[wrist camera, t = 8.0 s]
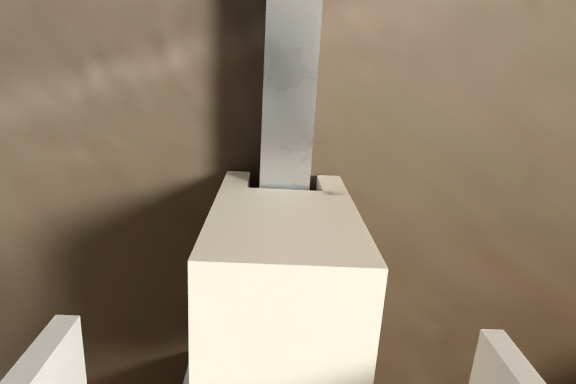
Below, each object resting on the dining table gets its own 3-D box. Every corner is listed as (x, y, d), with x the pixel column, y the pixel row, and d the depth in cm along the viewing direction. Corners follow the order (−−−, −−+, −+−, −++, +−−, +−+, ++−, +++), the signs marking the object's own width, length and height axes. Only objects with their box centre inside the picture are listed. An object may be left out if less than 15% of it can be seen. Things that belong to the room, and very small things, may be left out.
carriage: (227, 170, 24) (187, 260, 13) (339, 176, 24) (388, 268, 13) (225, 303, 26) (189, 470, 16) (327, 307, 26) (361, 474, 16)
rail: (274, -155, 20) (273, -191, 17) (327, -151, 20) (336, -186, 17) (254, 345, 27) (252, 378, 24) (294, 346, 27) (295, 380, 25)
